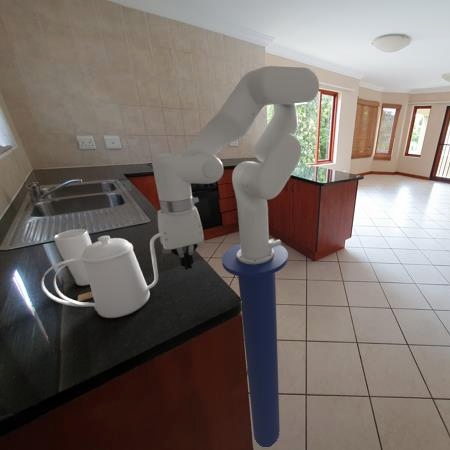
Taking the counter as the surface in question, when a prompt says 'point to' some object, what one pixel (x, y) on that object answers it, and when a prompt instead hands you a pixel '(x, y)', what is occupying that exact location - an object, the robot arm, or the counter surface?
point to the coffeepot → (111, 277)
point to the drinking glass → (74, 252)
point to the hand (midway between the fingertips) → (187, 266)
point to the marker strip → (85, 296)
